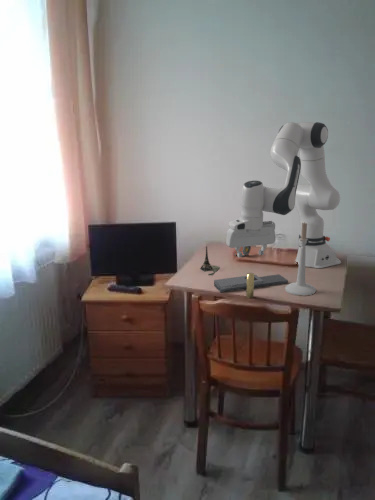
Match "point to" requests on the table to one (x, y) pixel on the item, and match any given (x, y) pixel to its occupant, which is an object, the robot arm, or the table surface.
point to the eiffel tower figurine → (208, 265)
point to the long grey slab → (241, 282)
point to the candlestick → (301, 271)
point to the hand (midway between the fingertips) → (250, 255)
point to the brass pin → (250, 285)
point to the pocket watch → (245, 250)
